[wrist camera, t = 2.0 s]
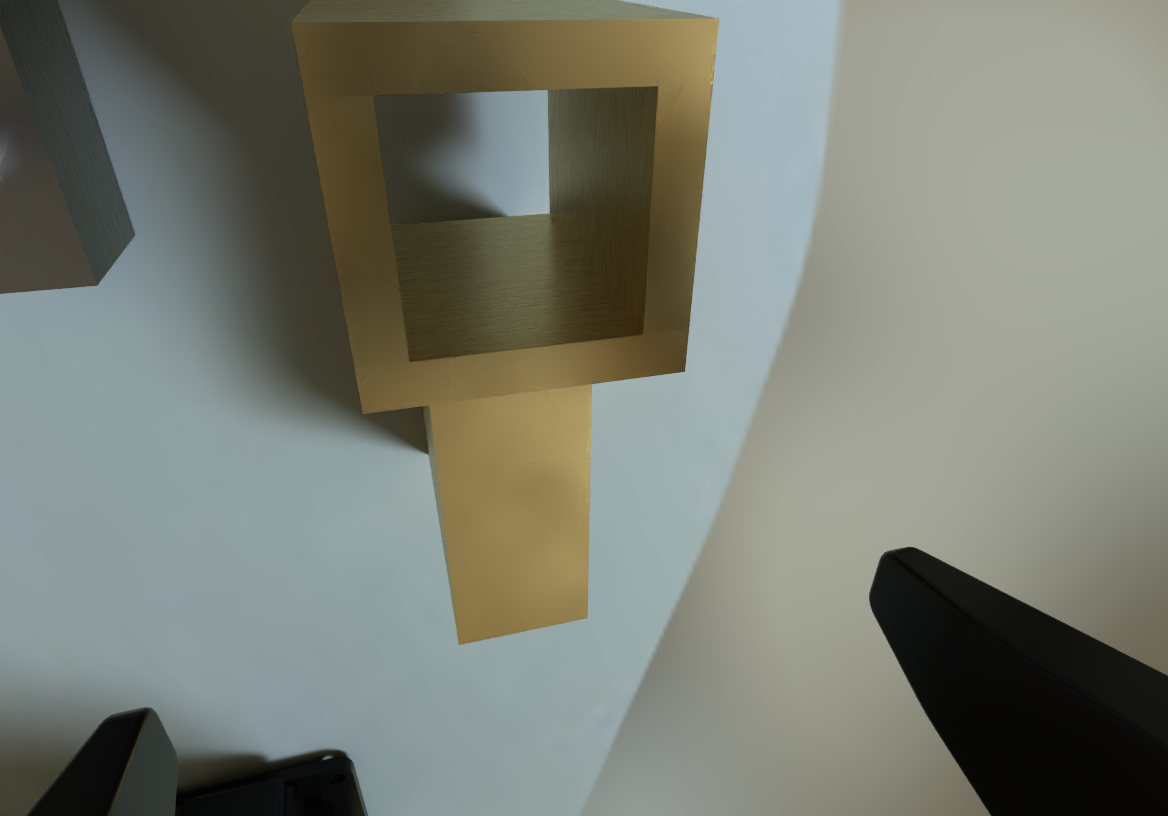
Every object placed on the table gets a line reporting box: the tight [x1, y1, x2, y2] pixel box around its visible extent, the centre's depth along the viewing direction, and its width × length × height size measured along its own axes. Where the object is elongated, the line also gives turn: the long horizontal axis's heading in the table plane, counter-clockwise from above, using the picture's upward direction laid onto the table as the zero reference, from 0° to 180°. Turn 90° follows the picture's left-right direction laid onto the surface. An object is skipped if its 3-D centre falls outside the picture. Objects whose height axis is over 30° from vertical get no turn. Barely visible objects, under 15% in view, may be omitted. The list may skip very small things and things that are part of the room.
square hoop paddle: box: [291, 0, 719, 645], centre depth 12 cm, size 10×4×8 cm, turn 0°
